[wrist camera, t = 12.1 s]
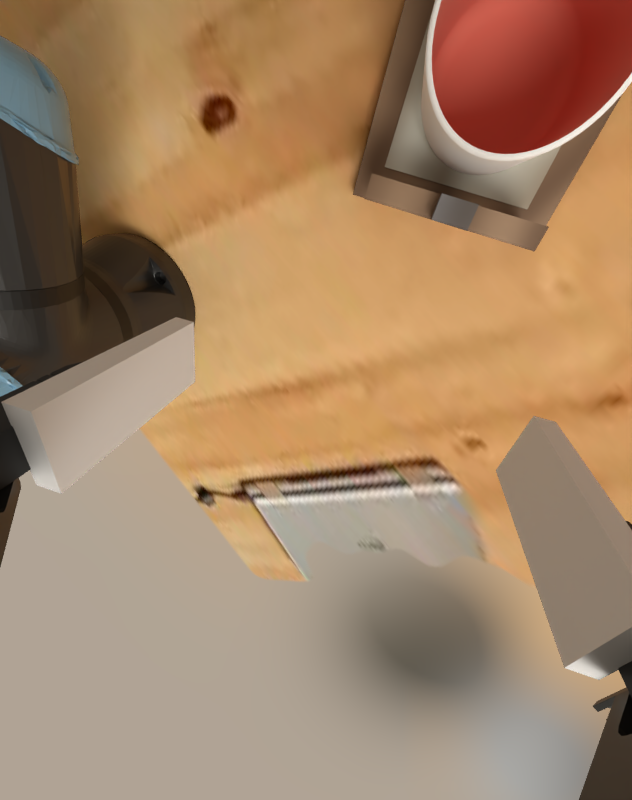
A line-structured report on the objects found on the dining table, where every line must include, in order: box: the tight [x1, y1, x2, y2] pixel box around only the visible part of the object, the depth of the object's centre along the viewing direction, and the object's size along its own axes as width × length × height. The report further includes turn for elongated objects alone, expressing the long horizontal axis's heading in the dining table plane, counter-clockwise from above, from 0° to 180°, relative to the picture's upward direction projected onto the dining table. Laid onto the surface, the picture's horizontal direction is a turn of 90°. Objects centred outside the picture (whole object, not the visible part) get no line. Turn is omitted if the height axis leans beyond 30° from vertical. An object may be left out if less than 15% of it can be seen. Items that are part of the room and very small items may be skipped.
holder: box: [353, 0, 622, 251], centre depth 20 cm, size 16×17×10 cm
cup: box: [421, 0, 632, 175], centre depth 19 cm, size 10×10×10 cm
